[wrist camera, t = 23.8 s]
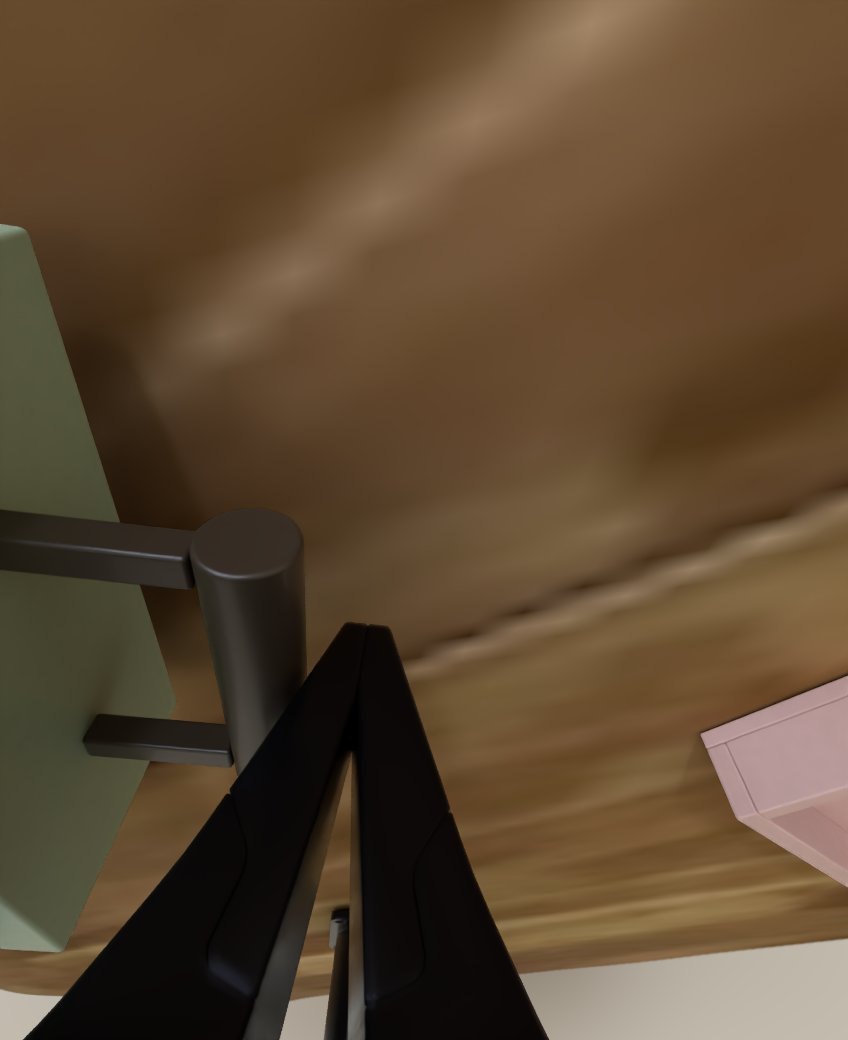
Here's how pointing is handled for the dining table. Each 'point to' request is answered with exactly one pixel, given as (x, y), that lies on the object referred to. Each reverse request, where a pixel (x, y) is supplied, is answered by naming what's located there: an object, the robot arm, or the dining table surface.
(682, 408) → the dining table surface
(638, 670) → the dining table surface
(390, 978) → the robot arm
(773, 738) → the tray
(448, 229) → the dining table surface
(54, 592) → the drawer
